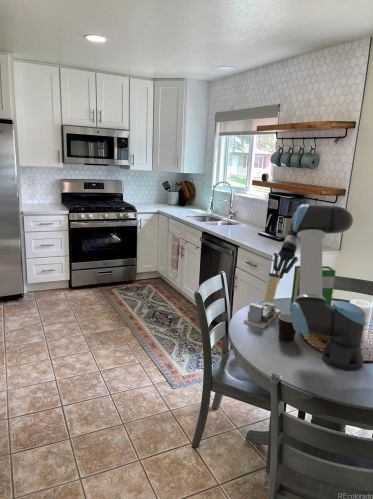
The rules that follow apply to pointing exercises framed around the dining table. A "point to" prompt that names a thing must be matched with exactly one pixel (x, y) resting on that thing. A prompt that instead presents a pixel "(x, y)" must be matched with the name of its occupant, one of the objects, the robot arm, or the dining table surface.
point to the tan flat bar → (272, 287)
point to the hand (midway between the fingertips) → (276, 282)
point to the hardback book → (327, 284)
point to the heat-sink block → (261, 312)
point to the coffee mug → (286, 328)
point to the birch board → (262, 322)
